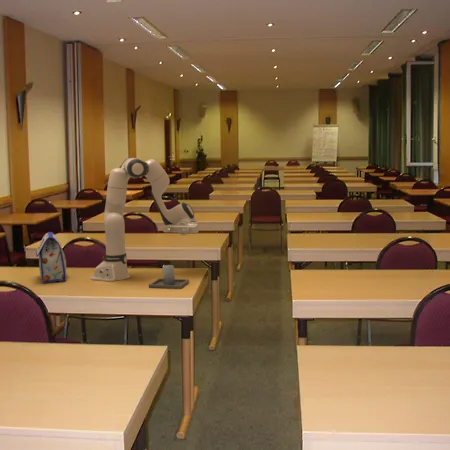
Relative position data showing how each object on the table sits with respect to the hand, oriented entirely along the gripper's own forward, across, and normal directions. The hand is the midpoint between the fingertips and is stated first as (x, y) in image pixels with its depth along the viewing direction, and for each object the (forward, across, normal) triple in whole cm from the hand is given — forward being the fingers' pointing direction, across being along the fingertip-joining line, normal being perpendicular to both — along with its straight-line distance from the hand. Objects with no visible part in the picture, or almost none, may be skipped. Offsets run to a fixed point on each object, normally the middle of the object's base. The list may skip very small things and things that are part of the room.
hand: (176, 230), depth 362 cm
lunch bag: (+9, -75, +29) cm, 81 cm away
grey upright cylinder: (+15, 0, +27) cm, 31 cm away
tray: (+15, 0, +28) cm, 32 cm away
